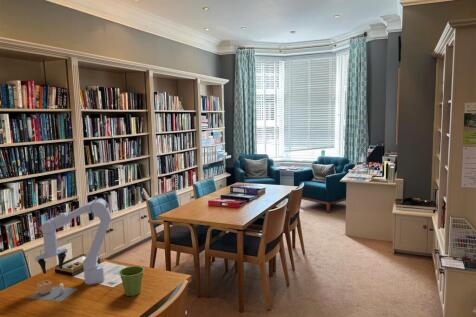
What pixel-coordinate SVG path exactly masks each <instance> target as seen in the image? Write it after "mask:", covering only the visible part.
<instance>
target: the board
mask: <svg viewBox="0 0 476 317" xmlns="http://www.w3.org/2000/svg"><path fill="white" fill-rule="evenodd" d="M41 282H42V281H41ZM43 284H46V282H42V285H43ZM77 290H78V288H72V287H64V283H59V286H52V291H49V292H46V293H43V294H40V293H39V292H38V291H36V292H35V293H33V294H32V295H30V296H28V297H27V299H31V300H32V299H33V300H43V301H53V302H62V301H64V300H65V299H67V298H69V297H70V296H71V295H72V294H73V293H75V292H76V291H77Z"/></svg>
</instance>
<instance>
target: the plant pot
mask: <svg viewBox="0 0 476 317" xmlns="http://www.w3.org/2000/svg"><path fill="white" fill-rule="evenodd" d="M144 271H145V268H144V267H143V266H141V265H140V266H139V265H130V266H126V267H124V268H121V269H120V270H119V271H118V274H119V276H120V279H121V282H122V287H123V291H124V294H125V296H127V297H130V296H131V297H134V296H138V295H139V294H140V293H141V291H142V290H141V289H142V282H143V275H144Z"/></svg>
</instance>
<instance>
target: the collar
mask: <svg viewBox="0 0 476 317" xmlns="http://www.w3.org/2000/svg"><path fill="white" fill-rule="evenodd" d="M42 282H46V284H43V285H42ZM52 282H53V281H51V280H49V279H45V280H42V281H39V282H37V283H36V290H37V291H36V292H39V293H40V294H43V293H46V292H49V291H52V287H53V283H52Z"/></svg>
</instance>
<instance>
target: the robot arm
mask: <svg viewBox="0 0 476 317" xmlns="http://www.w3.org/2000/svg"><path fill="white" fill-rule="evenodd" d="M85 213H87V214H92V213H93V214H94V215H95V216H96V217H97V218H98V219H99V221H100V222H99V224H98V227H97V230H96V232H95V235H94V237H93V241H92V243H91V245H90V249H89V251H88V252H87V254H86V256H85V258H84V259H83V261H82V266H83V277H84V278H83V279H84V284H85V285H94V284H98V283H104V281H105V275H104V265H99V263H98V260H99V259H100V257H99V253H100V249H101V247H102V244H103V241H104V239H105V236H106V233H107V231H108V228H109V225H110V223H111V220H112V215H111V211H110V207H109V203H108V202H107V201H106V200H105V199H104V198H97V199H96V200H91V201H89V202H87V203H85V204H83V205H82V206H80V207H78V208H76V209H73V210H72V211H71V212H60V213H59V214H58V215H56V216H55V217H51V218H49V219H47V220H46V221H44V223H43V224H41V227H40V230H41V232H42V234H43V235H42V236H43V248H44V253H41V254H39V255H36V256H34V261H35V262H36V263H38V264H39V266H40V269H41V271H42V273H43V274H44V275H45V274H47V270H46V260H45V259H49V258H53V257H56V256H57V259H58V268H59V269H63V265H64V261H65V260H66V257H67V254H68V249H67V248H60V249H58V238H57V237H58V236H57V229H60V228H62V227H64V226H66V225H68V224H70V223H71V221H72V219H74V218H77V217H79V216H81V215H84V214H85Z"/></svg>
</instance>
